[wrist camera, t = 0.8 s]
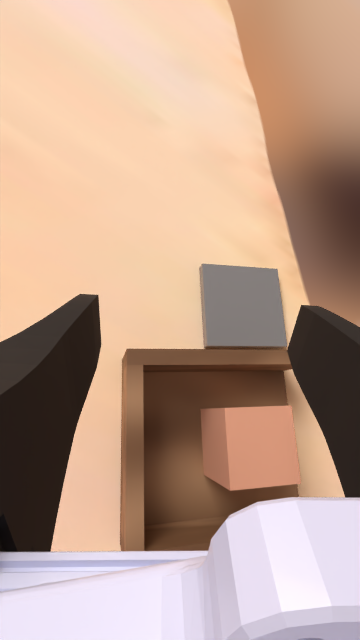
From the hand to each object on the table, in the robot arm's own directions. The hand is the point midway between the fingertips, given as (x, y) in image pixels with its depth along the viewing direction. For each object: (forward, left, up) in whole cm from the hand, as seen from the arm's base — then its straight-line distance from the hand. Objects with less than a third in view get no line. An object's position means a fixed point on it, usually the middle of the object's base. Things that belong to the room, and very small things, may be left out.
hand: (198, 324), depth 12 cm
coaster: (+5, -8, -14) cm, 17 cm away
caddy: (-5, -5, -14) cm, 16 cm away
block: (-5, -6, -13) cm, 16 cm away
